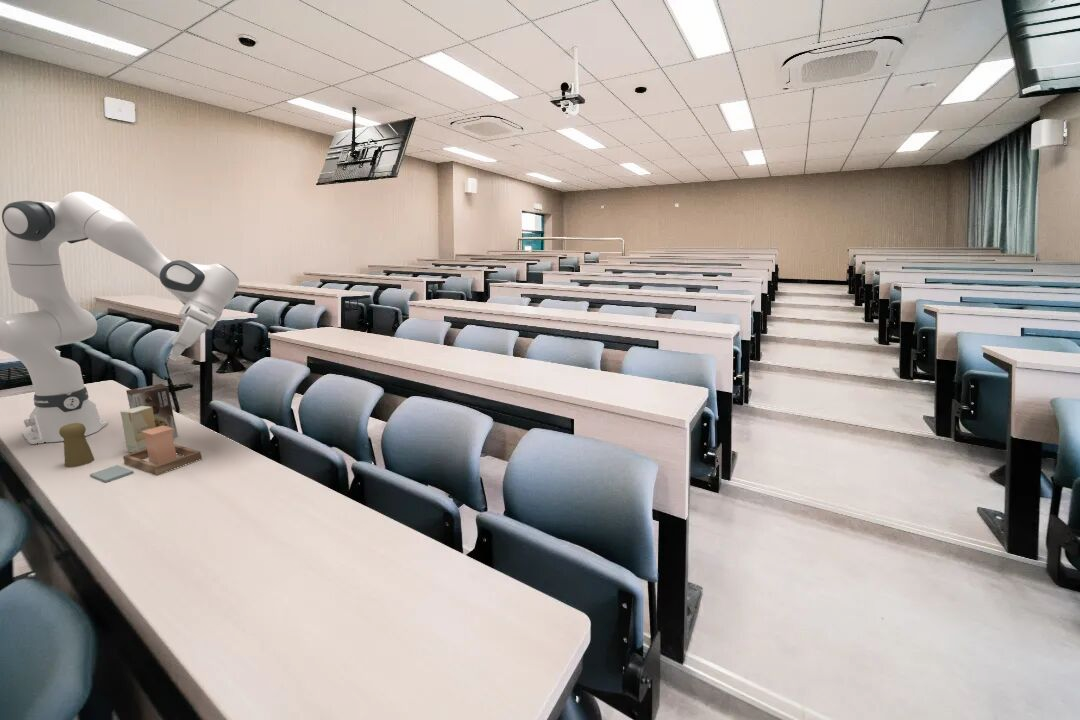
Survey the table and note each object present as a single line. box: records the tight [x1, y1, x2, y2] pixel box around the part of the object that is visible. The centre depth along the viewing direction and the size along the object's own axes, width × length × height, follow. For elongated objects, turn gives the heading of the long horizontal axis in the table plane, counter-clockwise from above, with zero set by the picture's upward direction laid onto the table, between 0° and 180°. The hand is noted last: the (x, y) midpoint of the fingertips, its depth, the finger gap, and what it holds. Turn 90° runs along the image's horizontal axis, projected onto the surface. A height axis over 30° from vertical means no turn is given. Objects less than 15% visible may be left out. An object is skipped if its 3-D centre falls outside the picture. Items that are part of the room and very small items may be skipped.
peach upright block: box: [142, 425, 178, 465], centre depth 135 cm, size 5×5×9 cm
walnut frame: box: [123, 443, 203, 476], centre depth 136 cm, size 16×11×2 cm
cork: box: [59, 423, 95, 468], centre depth 135 cm, size 6×6×11 cm
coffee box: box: [126, 383, 178, 438], centre depth 151 cm, size 9×6×16 cm
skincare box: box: [120, 406, 156, 453], centre depth 144 cm, size 6×4×12 cm
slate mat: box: [89, 464, 135, 483], centre depth 129 cm, size 8×6×1 cm
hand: (170, 360), depth 136 cm, fingers open, 8 cm apart
